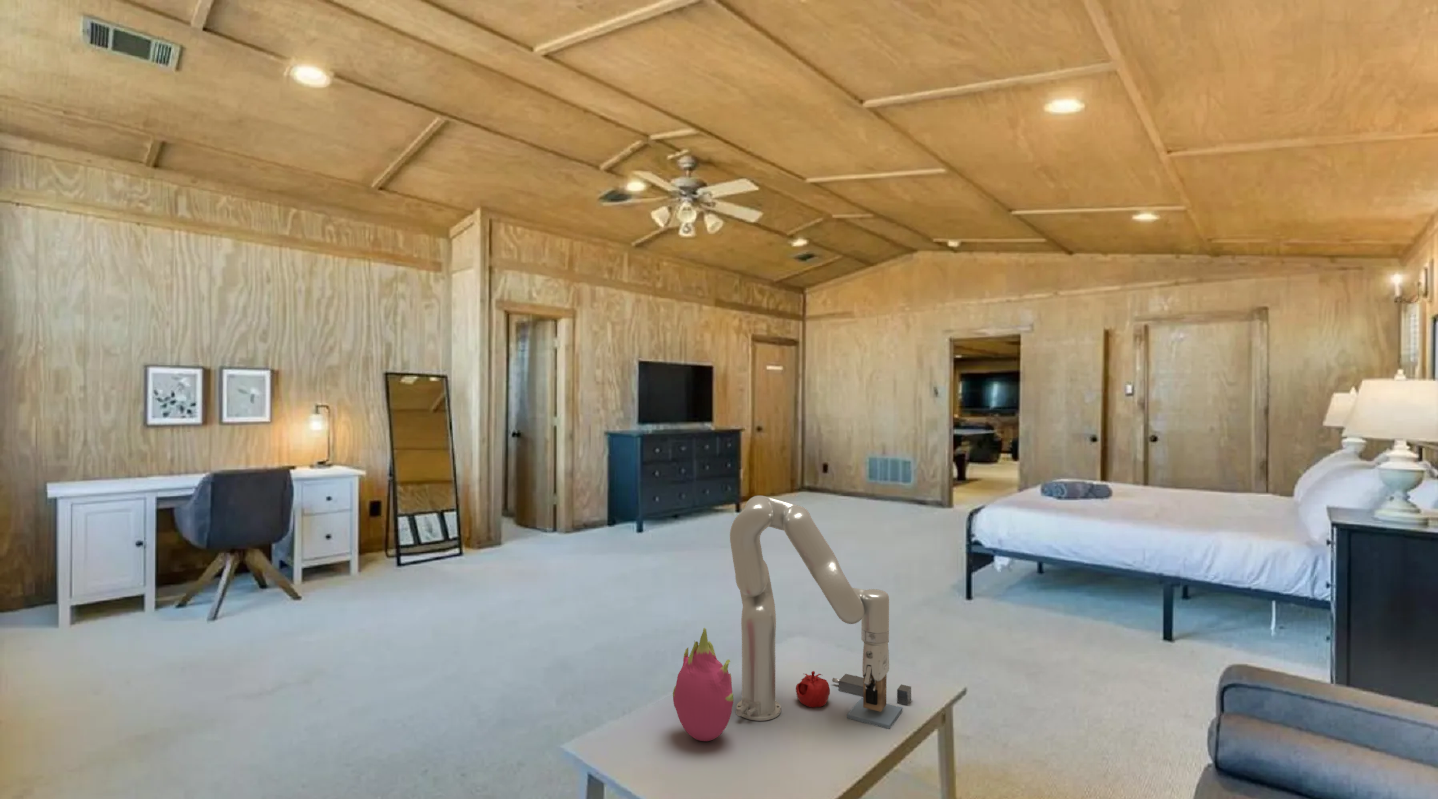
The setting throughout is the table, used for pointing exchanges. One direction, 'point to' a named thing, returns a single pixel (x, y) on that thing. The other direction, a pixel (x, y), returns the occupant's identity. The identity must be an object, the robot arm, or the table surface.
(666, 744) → the table surface
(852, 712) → the pad
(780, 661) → the table surface
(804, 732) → the table surface
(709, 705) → the pink dragon fruit
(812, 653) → the table surface
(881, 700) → the walnut peg
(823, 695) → the pomegranate
